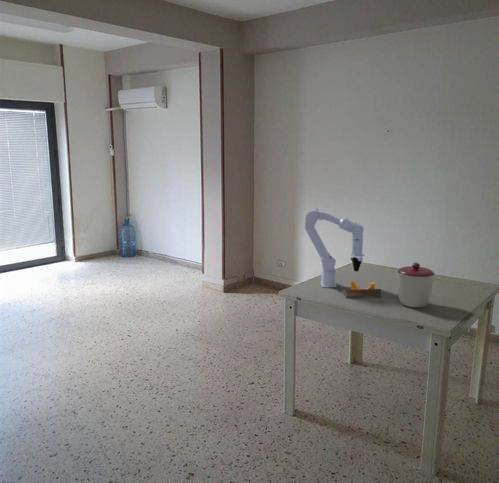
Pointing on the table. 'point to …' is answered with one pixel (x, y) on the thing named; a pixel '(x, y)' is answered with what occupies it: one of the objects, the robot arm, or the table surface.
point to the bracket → (362, 293)
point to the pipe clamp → (353, 287)
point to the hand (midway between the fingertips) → (356, 270)
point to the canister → (414, 285)
